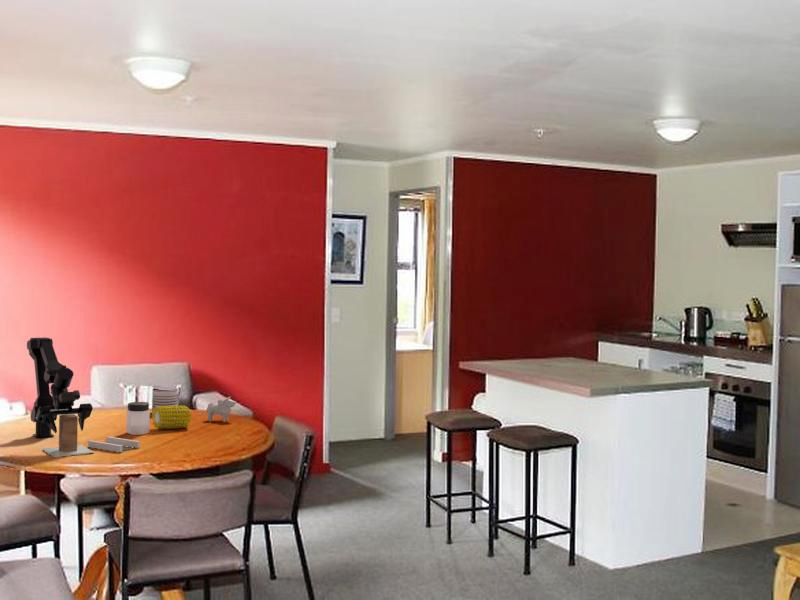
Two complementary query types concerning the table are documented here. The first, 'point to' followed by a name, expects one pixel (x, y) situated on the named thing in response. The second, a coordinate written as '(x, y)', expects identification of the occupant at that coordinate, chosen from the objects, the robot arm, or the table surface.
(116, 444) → the channel
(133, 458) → the table surface
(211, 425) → the table surface
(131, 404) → the jar
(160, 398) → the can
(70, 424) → the post
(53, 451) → the plate
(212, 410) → the dog figurine
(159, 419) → the food
